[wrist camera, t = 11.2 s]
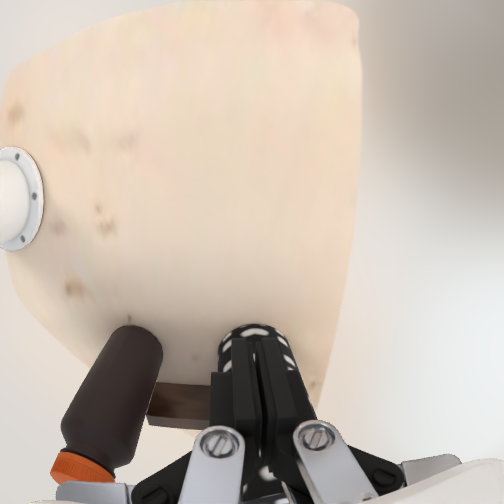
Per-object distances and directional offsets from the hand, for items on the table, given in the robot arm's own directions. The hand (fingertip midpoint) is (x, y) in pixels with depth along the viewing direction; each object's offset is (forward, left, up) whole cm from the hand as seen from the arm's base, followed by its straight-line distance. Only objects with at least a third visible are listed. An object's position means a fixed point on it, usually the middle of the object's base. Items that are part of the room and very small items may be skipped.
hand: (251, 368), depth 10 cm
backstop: (-4, -20, -18) cm, 27 cm away
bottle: (-12, -13, -19) cm, 26 cm away
